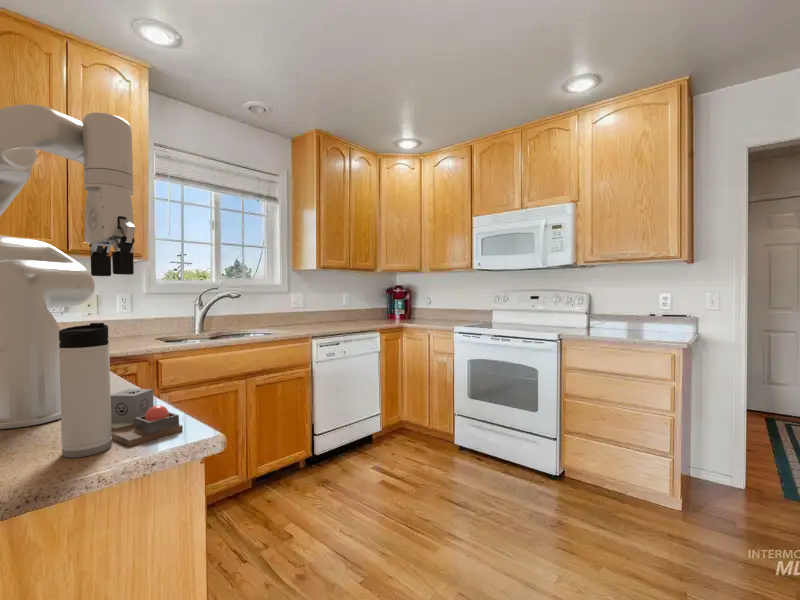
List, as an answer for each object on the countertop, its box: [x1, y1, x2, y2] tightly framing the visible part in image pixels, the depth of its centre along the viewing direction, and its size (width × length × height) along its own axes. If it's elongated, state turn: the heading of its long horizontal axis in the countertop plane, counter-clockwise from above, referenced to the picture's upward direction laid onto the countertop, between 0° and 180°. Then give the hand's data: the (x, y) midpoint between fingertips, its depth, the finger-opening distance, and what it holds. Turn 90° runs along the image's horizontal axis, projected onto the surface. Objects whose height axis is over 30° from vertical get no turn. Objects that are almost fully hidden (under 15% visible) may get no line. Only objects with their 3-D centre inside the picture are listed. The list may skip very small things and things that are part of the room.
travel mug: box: [59, 322, 113, 459], centre depth 64 cm, size 6×7×20 cm
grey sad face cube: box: [111, 388, 154, 423], centre depth 77 cm, size 5×5×5 cm
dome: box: [145, 404, 170, 422], centre depth 72 cm, size 4×4×4 cm
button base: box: [111, 411, 184, 447], centre depth 74 cm, size 15×9×3 cm, turn 56°
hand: (111, 275), depth 77 cm, fingers open, 9 cm apart
